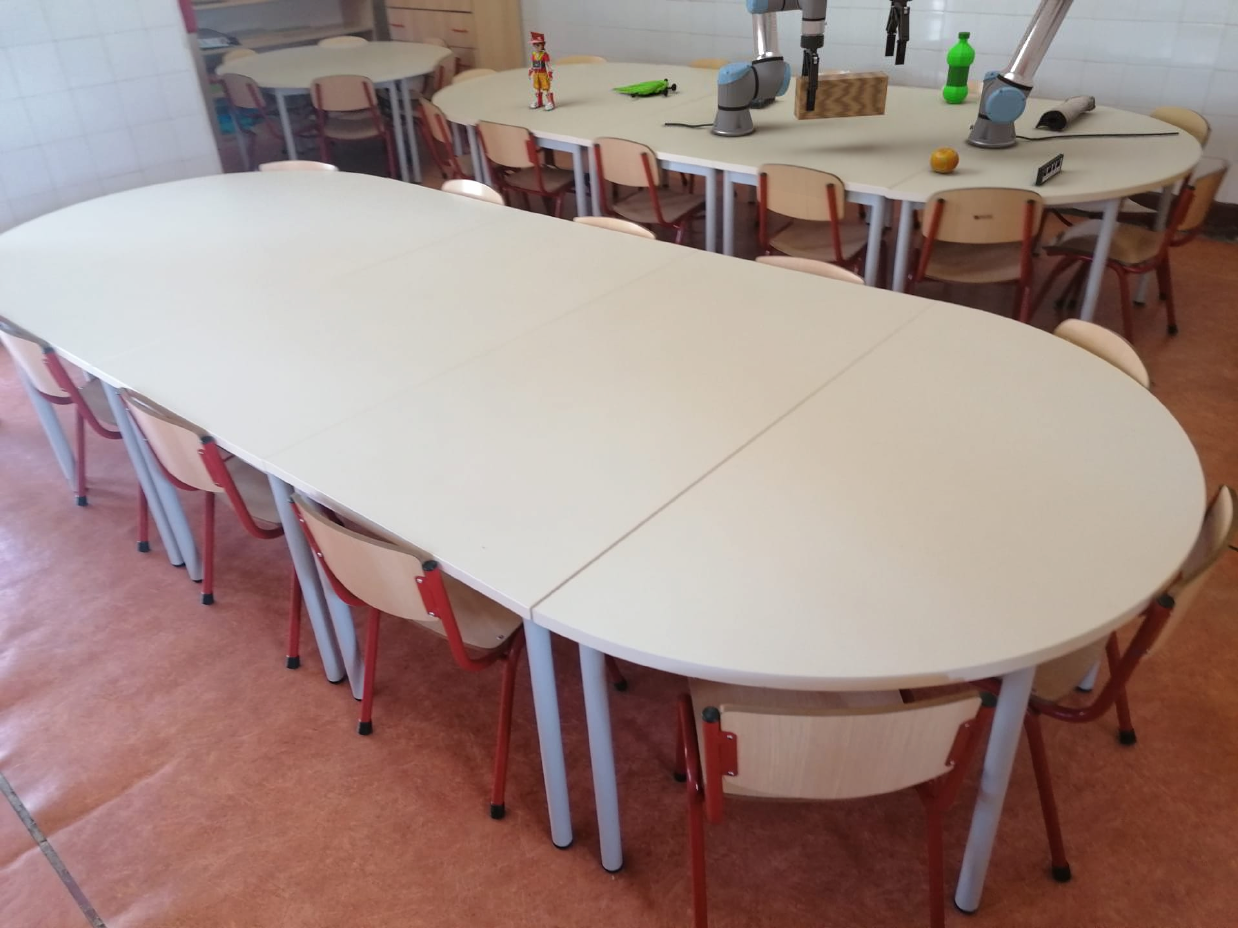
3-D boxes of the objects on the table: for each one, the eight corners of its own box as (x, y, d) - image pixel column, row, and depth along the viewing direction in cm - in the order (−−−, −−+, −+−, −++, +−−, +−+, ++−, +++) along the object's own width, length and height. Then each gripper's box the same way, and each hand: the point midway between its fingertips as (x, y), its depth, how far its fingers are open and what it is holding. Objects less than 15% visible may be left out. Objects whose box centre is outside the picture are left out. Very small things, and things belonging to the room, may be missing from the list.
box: (798, 120, 302) (800, 82, 295) (793, 114, 308) (796, 76, 301) (884, 115, 302) (888, 76, 295) (878, 109, 308) (882, 71, 301)
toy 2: (686, 85, 398) (631, 84, 414) (685, 72, 395) (629, 72, 411) (651, 104, 381) (596, 103, 397) (650, 92, 378) (594, 91, 394)
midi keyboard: (1039, 185, 269) (1043, 168, 266) (1035, 184, 270) (1038, 168, 267) (1060, 170, 279) (1064, 154, 277) (1056, 169, 280) (1060, 153, 277)
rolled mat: (1063, 100, 336) (1087, 83, 328) (1076, 121, 336) (1101, 104, 328) (1031, 122, 319) (1056, 104, 310) (1045, 143, 319) (1071, 126, 311)
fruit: (924, 163, 281) (941, 140, 278) (925, 165, 289) (941, 143, 286) (946, 178, 280) (963, 155, 277) (947, 180, 288) (963, 158, 285)
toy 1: (525, 109, 381) (517, 32, 364) (534, 104, 388) (527, 28, 371) (550, 110, 377) (543, 32, 360) (559, 105, 384) (553, 28, 367)
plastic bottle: (973, 101, 354) (984, 32, 339) (955, 106, 349) (966, 36, 335) (952, 97, 361) (962, 29, 346) (934, 102, 356) (944, 33, 342)
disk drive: (760, 109, 361) (775, 100, 371) (761, 102, 360) (776, 93, 370) (737, 107, 366) (752, 98, 376) (737, 100, 364) (753, 91, 374)
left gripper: (831, 39, 282) (825, 114, 295) (817, 27, 298) (812, 99, 312) (807, 41, 282) (802, 116, 295) (795, 29, 298) (790, 100, 312)
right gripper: (925, -9, 267) (916, 67, 279) (904, -19, 287) (896, 52, 299) (900, -7, 267) (891, 69, 279) (881, -18, 287) (873, 53, 299)
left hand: (807, 107), depth 303 cm, fingers closed on box, 8 cm apart
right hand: (894, 60), depth 289 cm, fingers open, 13 cm apart
